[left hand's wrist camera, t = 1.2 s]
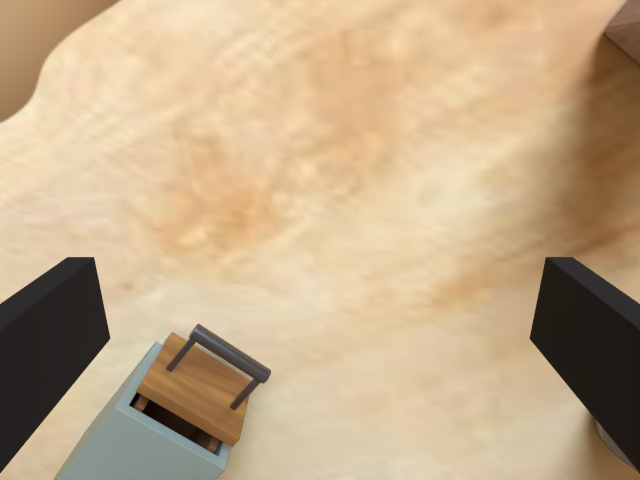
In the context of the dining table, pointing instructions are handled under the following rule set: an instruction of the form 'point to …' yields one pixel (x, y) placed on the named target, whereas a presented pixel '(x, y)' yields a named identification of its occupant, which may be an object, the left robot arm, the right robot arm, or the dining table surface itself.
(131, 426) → the sage green storage bin
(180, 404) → the drawer
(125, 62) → the dining table surface
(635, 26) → the wooden block
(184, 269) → the dining table surface
